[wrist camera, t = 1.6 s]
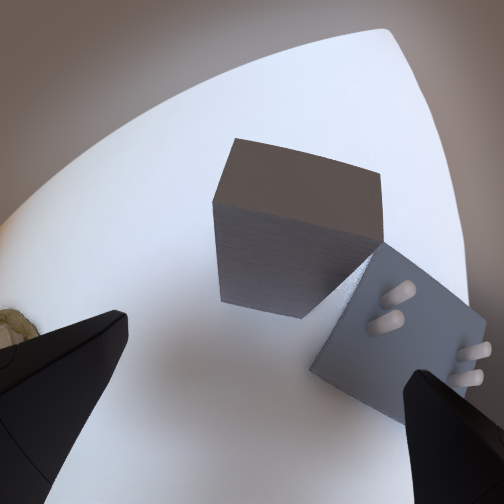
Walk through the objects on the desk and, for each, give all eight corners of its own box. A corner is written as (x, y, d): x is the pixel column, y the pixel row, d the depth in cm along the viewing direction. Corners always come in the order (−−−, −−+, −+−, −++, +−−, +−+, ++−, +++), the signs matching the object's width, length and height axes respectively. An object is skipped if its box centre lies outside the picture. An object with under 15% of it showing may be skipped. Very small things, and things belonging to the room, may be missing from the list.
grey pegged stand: (435, 440, 16) (471, 445, 12) (309, 370, 19) (331, 366, 15) (478, 325, 21) (511, 311, 17) (376, 247, 24) (402, 219, 19)
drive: (301, 318, 21) (383, 241, 9) (221, 301, 21) (212, 201, 9) (308, 276, 22) (379, 170, 11) (231, 259, 22) (236, 134, 11)
